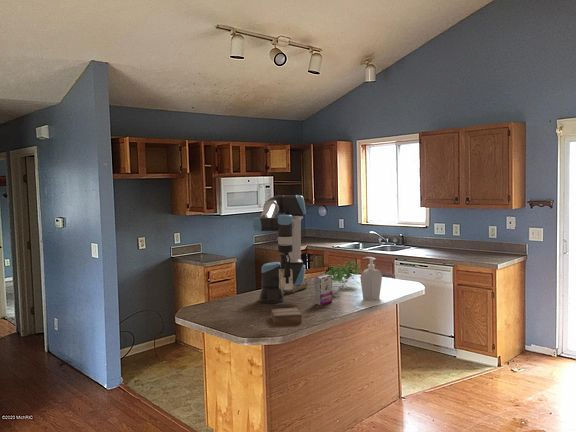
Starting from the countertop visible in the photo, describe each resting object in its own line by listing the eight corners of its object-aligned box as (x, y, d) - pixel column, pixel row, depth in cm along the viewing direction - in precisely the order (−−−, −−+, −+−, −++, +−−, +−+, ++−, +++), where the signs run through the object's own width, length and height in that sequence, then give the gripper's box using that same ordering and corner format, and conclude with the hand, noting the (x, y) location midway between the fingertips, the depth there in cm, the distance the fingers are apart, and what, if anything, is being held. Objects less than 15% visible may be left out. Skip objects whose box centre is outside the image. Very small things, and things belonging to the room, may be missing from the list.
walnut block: (271, 318, 276) (271, 309, 275) (296, 316, 278) (296, 307, 277) (274, 325, 262) (274, 315, 261) (301, 324, 264) (301, 314, 264)
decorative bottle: (298, 287, 350) (298, 277, 349) (308, 288, 346) (308, 279, 345) (277, 294, 328) (277, 284, 328) (287, 296, 324) (287, 286, 324)
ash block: (279, 287, 270) (278, 269, 270) (290, 287, 272) (290, 268, 271) (281, 290, 265) (281, 271, 264) (292, 289, 266) (292, 270, 265)
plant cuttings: (364, 295, 353) (342, 273, 362) (378, 277, 346) (354, 255, 355) (339, 306, 324) (315, 282, 334) (353, 287, 317) (328, 263, 326)
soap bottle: (367, 295, 323) (368, 255, 321) (382, 297, 317) (382, 256, 315) (357, 299, 314) (357, 257, 312) (372, 301, 307) (372, 259, 305)
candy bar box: (325, 300, 311) (325, 274, 310) (332, 302, 307) (332, 275, 306) (314, 304, 303) (314, 277, 301) (320, 305, 299) (320, 278, 298)
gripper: (274, 242, 275) (275, 285, 277) (281, 246, 257) (282, 292, 258) (288, 242, 277) (288, 284, 278) (296, 246, 258) (296, 291, 260)
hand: (285, 288), depth 268 cm, fingers closed on ash block, 6 cm apart
